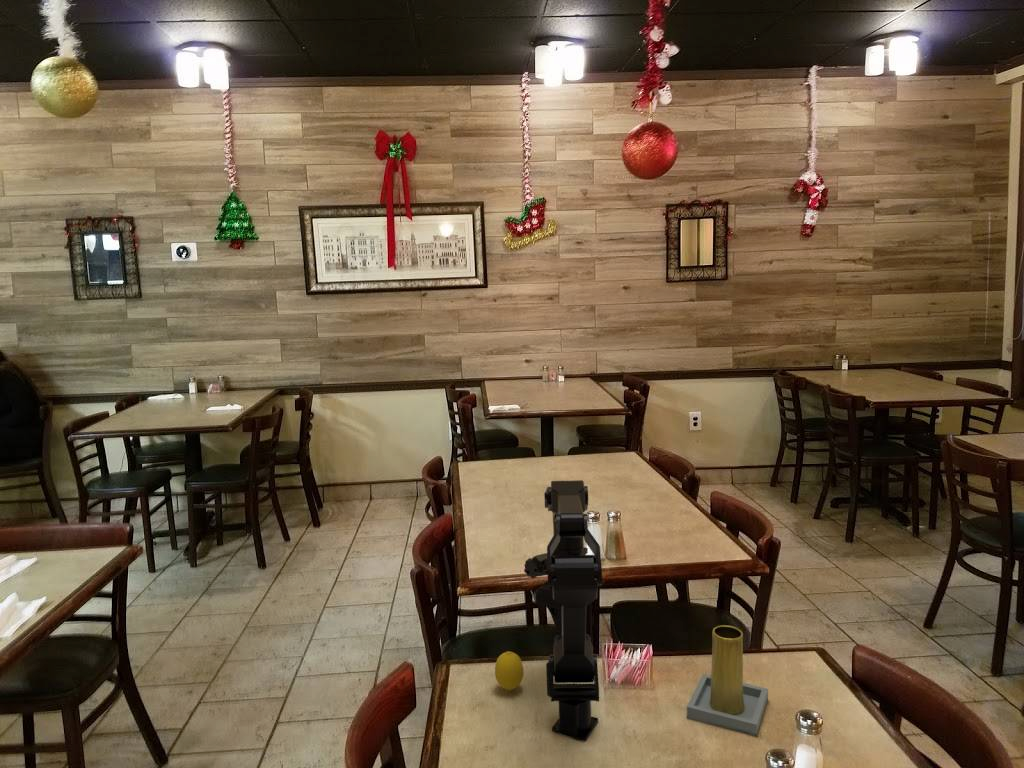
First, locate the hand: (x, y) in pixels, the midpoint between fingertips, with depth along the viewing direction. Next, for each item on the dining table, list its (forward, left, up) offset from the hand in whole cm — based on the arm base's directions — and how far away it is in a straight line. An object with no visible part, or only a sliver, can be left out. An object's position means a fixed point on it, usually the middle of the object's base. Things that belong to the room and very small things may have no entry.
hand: (570, 621), depth 135 cm
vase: (+5, -29, -13) cm, 32 cm away
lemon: (-7, +10, -13) cm, 18 cm away
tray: (+5, -29, -13) cm, 32 cm away
